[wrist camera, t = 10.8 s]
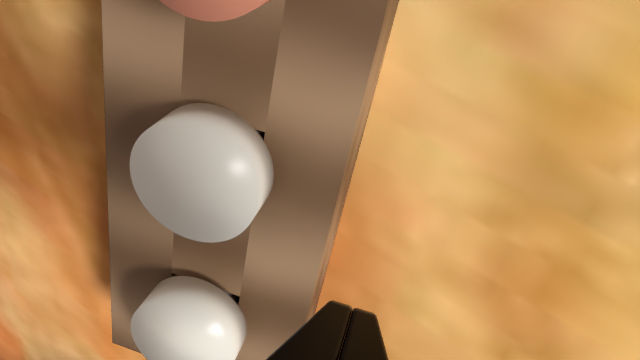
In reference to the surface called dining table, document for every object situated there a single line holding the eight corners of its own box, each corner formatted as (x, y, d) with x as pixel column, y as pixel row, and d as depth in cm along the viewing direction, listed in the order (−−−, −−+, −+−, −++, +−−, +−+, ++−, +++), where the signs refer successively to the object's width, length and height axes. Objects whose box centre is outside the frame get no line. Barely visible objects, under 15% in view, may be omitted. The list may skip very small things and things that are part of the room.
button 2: (295, 182, 23) (248, 259, 18) (199, 152, 23) (129, 219, 18) (314, 86, 20) (266, 145, 15) (207, 55, 21) (129, 103, 16)
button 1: (270, 308, 27) (226, 397, 22) (189, 280, 27) (130, 361, 23) (283, 241, 24) (237, 324, 20) (195, 212, 25) (130, 286, 20)
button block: (306, 344, 28) (283, 405, 25) (154, 290, 29) (112, 342, 26) (458, -220, 15) (454, -253, 12) (170, -280, 16) (90, -325, 13)
